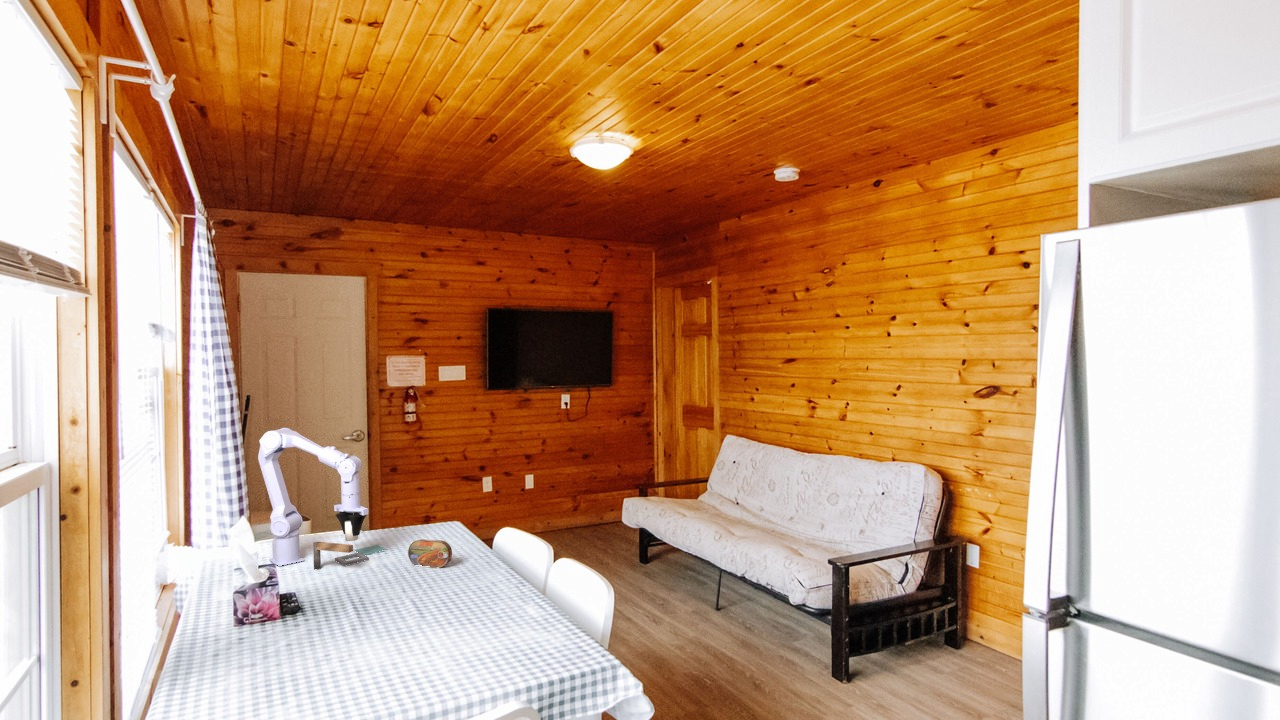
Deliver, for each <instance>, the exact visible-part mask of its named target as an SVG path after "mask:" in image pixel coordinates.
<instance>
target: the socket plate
mask: <svg viewBox="0 0 1280 720" xmlns="http://www.w3.org/2000/svg"><path fill="white" fill-rule="evenodd" d="M353 557H355V559H354V558H353ZM357 557H359V558H357ZM349 558H350V559H349ZM345 559H346V560H345ZM364 560H368V561H369V560H370V557H369V556H368V555H366V556H365V555H363V554H361V553H359V552H358V553H357V552H354V553H350V554H349V553H348V554H346V555H340V556H336V557H334V561H335V562H336V561H337V562H336V563H338V562H339V563H338V564H340V565H342V564H343V565H342V566H344V567H346V566H345V565H347V566H350V565H349V564H351V565H354V564H353V563H355V564H358V563H357V562H359V563H362V562H361V561H363V562H365V561H364Z"/></svg>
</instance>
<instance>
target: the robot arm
mask: <svg viewBox="0 0 1280 720" xmlns="http://www.w3.org/2000/svg"><path fill="white" fill-rule="evenodd" d="M258 441H259V444H260V445H259V450H258V456H257V459H258V464H259V468H260V470H261V473H262V476H263V477H262V478H263V480H264V484H265V487H266V489H267V493H268V497H269V501H270V505H271V506H272V507H271V508H272V511H271V514H270V517H269V518H270V526H269V527H270V528H269V529H270V532H271V534H272V535H273V536H274V537H273V539H272V543H271V544H272V546H271V547H272V551H271V552H272V558H270V559H269V561H270V562H271V561H272V562H271V563H272V564H274V565H275V566H277V565H278V566H277V567H283V566H282V565H284V566H288V565H292V564H291V563H293V564H296V562H297V563H300V562H301V561H302V562H304V561H305V559H304V558H303V557H301V554H300V551H301V550H300V547H301V546H300V528H301V527H302V525H303V521H304V520H303V517H302V515H301V514H300V513H299V512H298V510H297V507H296V506H295V505H293V504H292V503H291V500H290V496H289V493H288V490H287V489H288V488H287V486H286V483H285V479H284V475H283V473H282V469H281V465H280V463H279V457H280V456H281V455H282V453H283V452H284V451H285V450H286V449H287V448H296V449H299V450H302V451H304V452H307V453H309V454H312V455H314V456H315V457H317V458H318V462H320V463H322V464H324V465H325V466H328V467H329V468H332V469H334V470H336V471H337V473H338V474H339V475H340V488H341V489H340V493H341V494H340V496H341V497H340V498H341V504H339V503H338V504H333V507H334V509H333V510H334V512H339V513H336V514H335V517H336V518H337V520H338V521H339V523H340V526H341V529H342V532H343V535H345V522H346V521H349V520H350V522H351V526H352V534H353V536H357V535H358V536H360V535H361V534H360V533H361V531H362V526H363V523H364V521H365V518H366V517H367V515H369V508H367V507H364V506H362V505H361V486H360V485H361V482H360V478H361V477H360V471H361V469H362V467H363V462H362V460H361V458H359V457H357V455H350V454H349V453H347V452H346V453H344V452H342V451H340V450H338V449H337V447H336V446H334V445H333V446H329V445H327V446H324V447H323V446H321V445H320V444H318V443H317V442H315V441H312V440H311V439H309V438H307V437H305V436H303V435H302V434H300V433H299V432H298V431H296V430H293V429H291V428H288V427H281V428H280V429H279V428H278V429H275V430H268V431H266V432H265V433H264V434H263V435H262V436H261V438H260V439H259V440H258ZM287 564H288V565H287Z"/></svg>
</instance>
